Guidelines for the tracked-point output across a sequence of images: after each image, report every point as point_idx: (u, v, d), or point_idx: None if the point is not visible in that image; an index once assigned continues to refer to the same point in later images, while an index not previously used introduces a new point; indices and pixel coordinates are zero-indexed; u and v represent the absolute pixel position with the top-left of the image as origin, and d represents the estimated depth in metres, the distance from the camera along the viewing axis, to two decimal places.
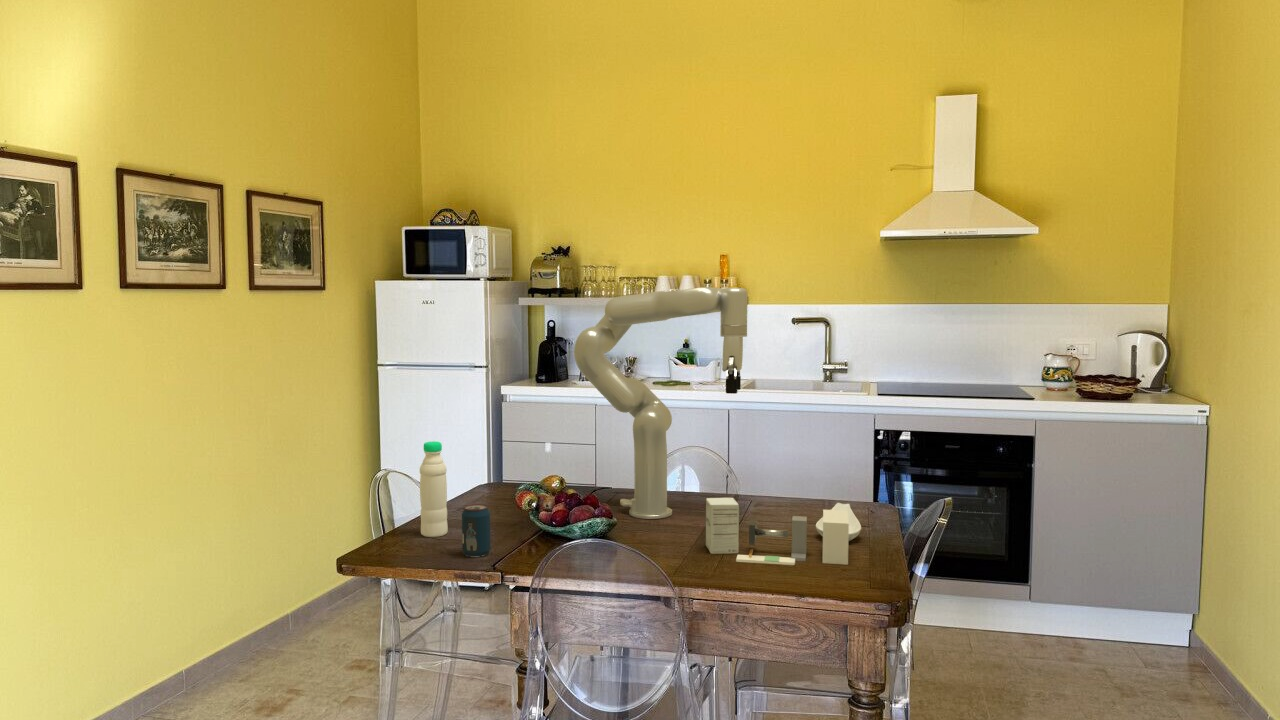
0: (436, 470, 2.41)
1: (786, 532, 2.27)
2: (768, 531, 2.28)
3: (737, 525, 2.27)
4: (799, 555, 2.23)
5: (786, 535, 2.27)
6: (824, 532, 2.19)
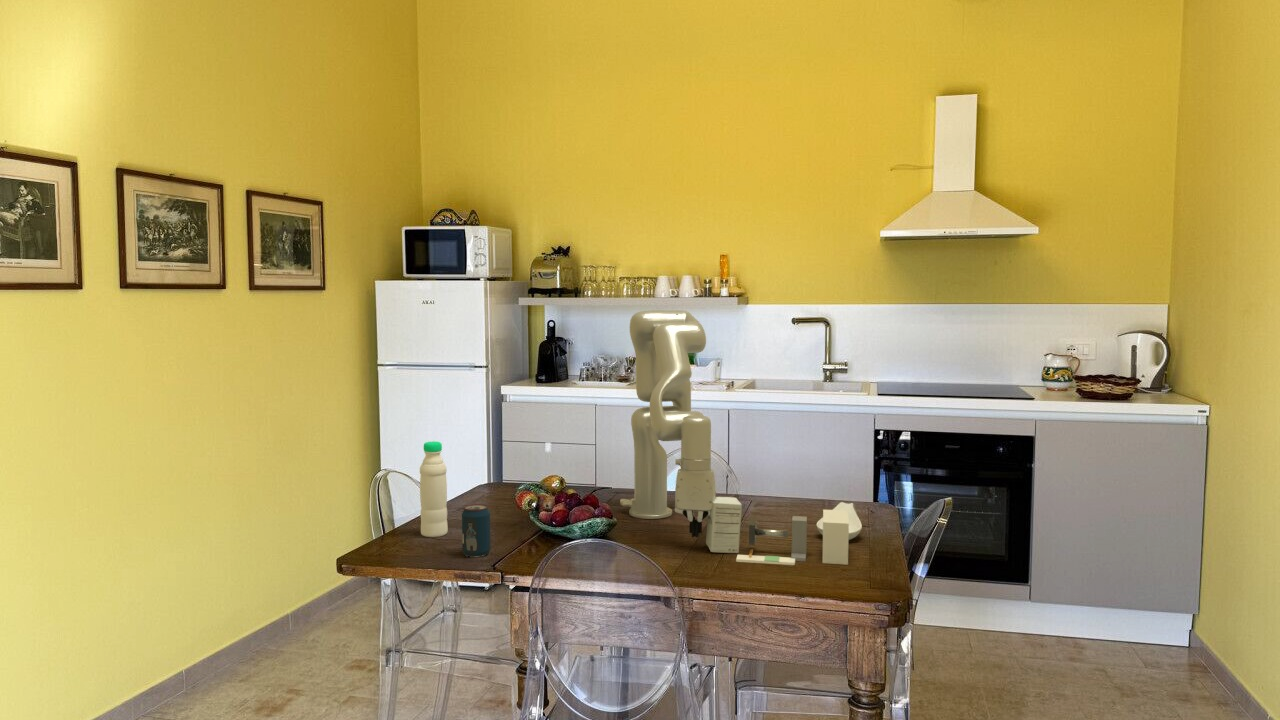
0: (436, 470, 2.41)
1: (786, 532, 2.27)
2: (768, 531, 2.28)
3: (739, 525, 2.27)
4: (799, 555, 2.23)
5: (786, 535, 2.27)
6: (824, 532, 2.19)
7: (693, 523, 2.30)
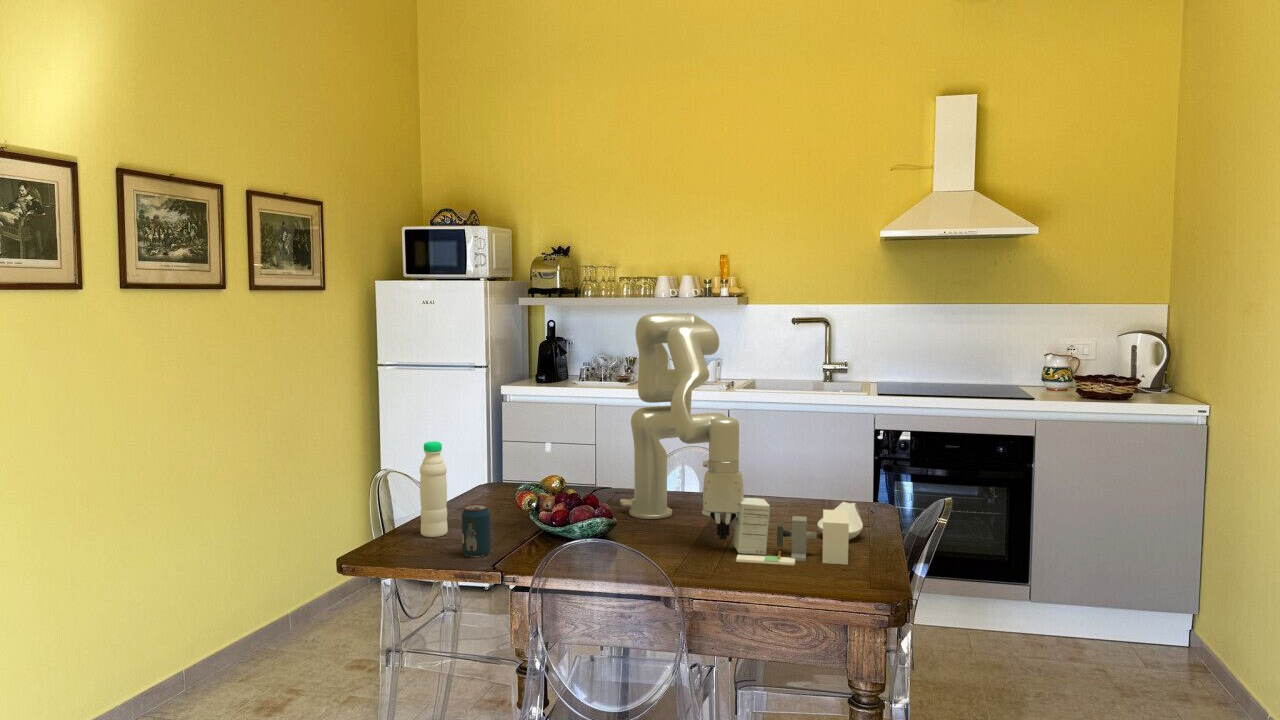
0: (436, 470, 2.41)
1: (814, 534, 2.25)
2: None
3: (767, 526, 2.26)
4: (799, 555, 2.23)
5: (814, 537, 2.25)
6: (824, 532, 2.19)
7: (721, 525, 2.29)
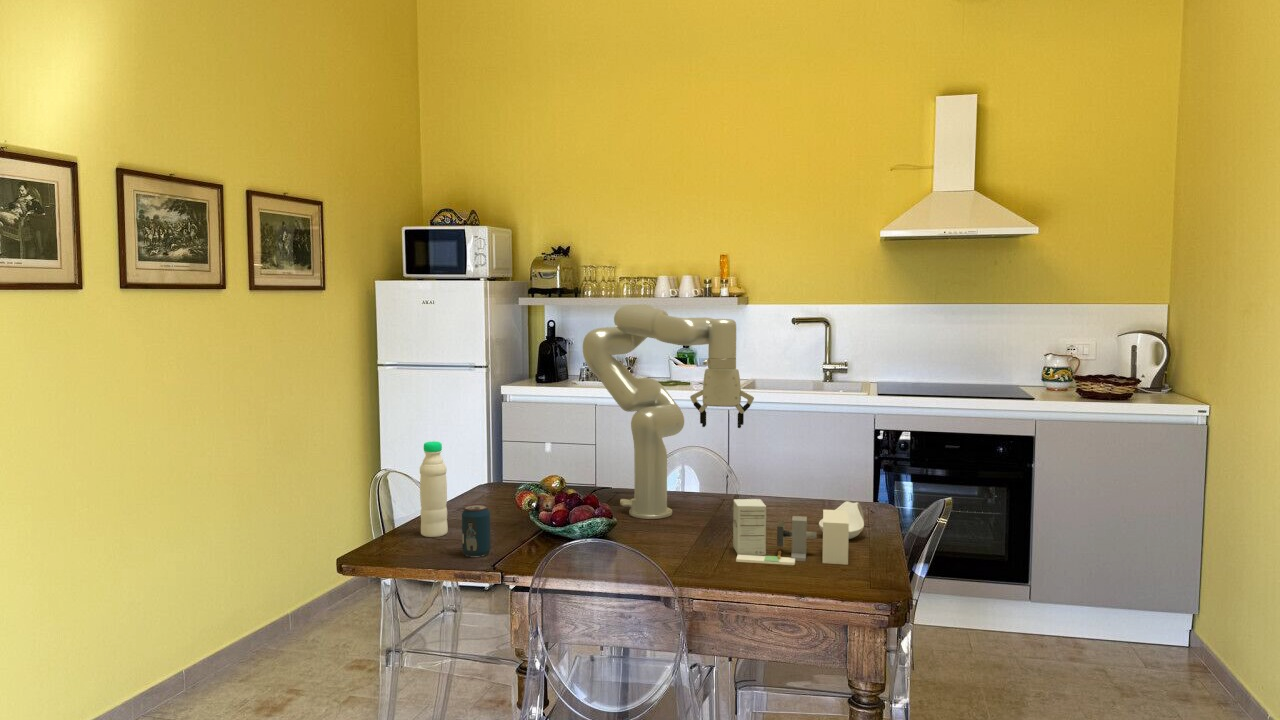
0: (436, 470, 2.41)
1: (814, 534, 2.25)
2: None
3: (764, 527, 2.26)
4: (799, 555, 2.23)
5: (814, 537, 2.25)
6: (824, 532, 2.19)
7: (703, 414, 2.48)
